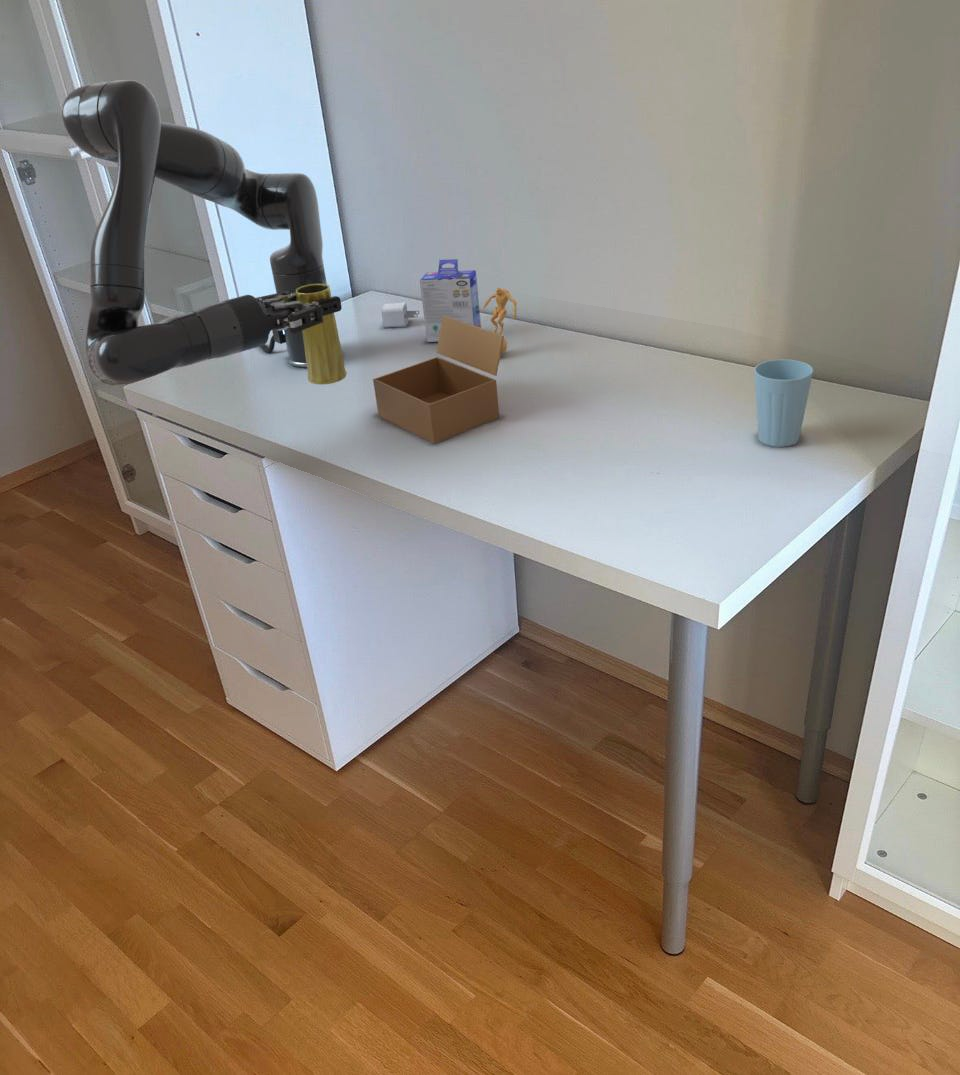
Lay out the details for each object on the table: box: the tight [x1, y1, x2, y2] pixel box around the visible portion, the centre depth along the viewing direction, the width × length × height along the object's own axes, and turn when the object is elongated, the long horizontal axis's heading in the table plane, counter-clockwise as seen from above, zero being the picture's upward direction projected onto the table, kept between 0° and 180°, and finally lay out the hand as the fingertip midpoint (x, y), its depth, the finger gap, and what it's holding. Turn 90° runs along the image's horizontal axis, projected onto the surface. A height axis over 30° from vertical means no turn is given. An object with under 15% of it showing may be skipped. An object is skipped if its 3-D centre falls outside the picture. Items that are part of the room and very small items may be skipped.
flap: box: [436, 316, 505, 377], centre depth 156 cm, size 16×6×1 cm
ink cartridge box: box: [419, 258, 482, 343], centre depth 185 cm, size 10×6×14 cm, turn 78°
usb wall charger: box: [381, 302, 420, 329], centre depth 198 cm, size 4×7×4 cm, turn 84°
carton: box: [372, 356, 500, 445], centre depth 156 cm, size 16×13×6 cm
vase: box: [296, 283, 347, 386], centre depth 152 cm, size 6×6×14 cm
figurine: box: [481, 287, 517, 357], centre depth 176 cm, size 8×6×12 cm
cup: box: [753, 358, 814, 448], centre depth 137 cm, size 8×8×10 cm
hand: (329, 299), depth 151 cm, fingers closed on vase, 5 cm apart
